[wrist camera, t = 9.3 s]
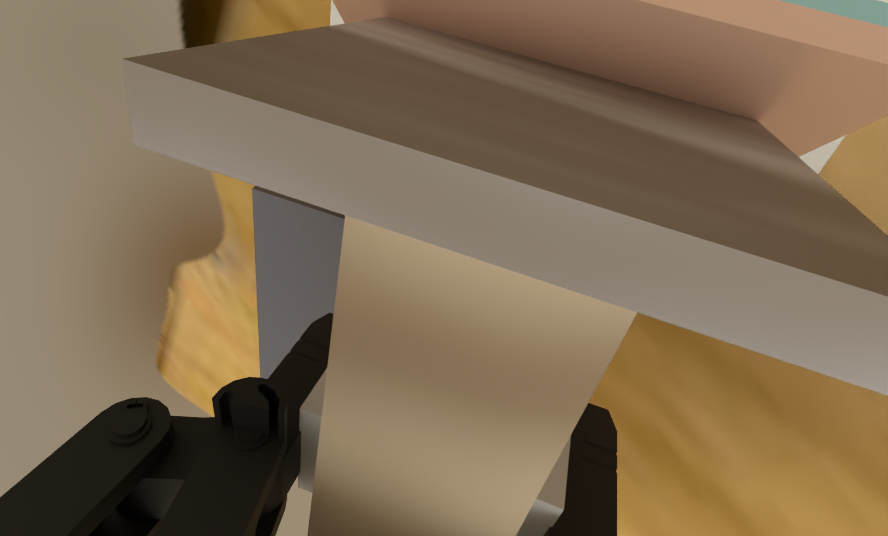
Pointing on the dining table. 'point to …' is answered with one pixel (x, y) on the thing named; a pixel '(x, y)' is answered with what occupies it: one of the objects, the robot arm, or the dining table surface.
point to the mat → (292, 270)
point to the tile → (693, 51)
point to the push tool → (508, 248)
